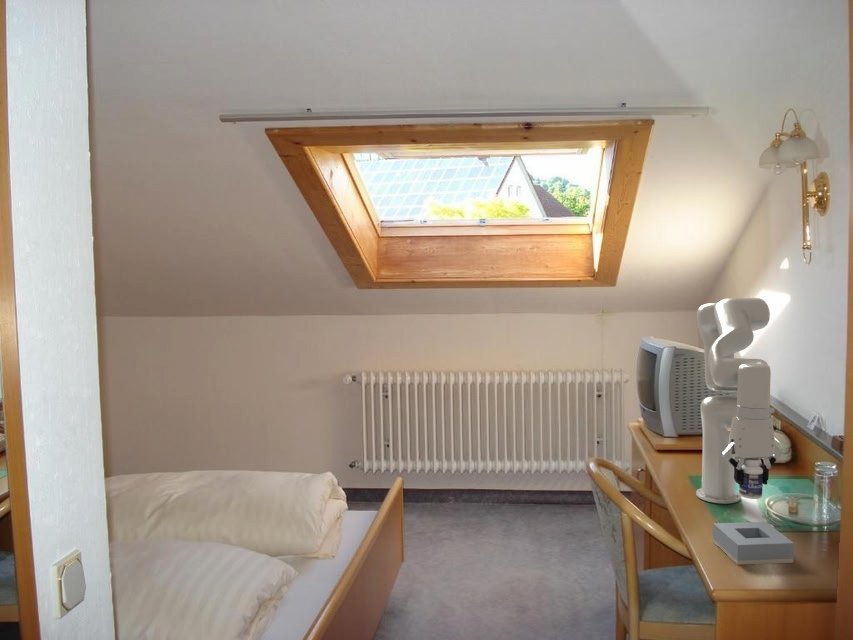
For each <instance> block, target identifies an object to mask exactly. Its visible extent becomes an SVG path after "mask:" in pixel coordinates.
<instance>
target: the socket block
mask: <svg viewBox="0 0 853 640" xmlns="http://www.w3.org/2000/svg"><path fill="white" fill-rule="evenodd" d="M712 543H714V545H715V546H716V547H718V546H719V547H720V548H721V549H722V550H723V551H724V552H725V553H726V554H727V555H726V554H725V553H724V552H723V551H722V550H721V549H720V548H719V547H718V548H719V549H720V550H721V551H722V552H723V553H724V554H725V555H726V556H727V557H729V559H731V560H732V561H733V562H734V563H735V564H736V565H737V566H738V565H739V566H740V565H741V566H742V565H767V564H771V565H772V564H790V563H791V564H793V563H794V556H795V555H794V554H795V553H794V550H795V549H794V548H795V542H793V541H792V540H790V539H789V538H788V537H787V536H785V535H784V534H783V533H781V532H780V531H778V530H777V529H776V528H775V527H773V526H772V525H770V524H769V523H768V522H767V521H751V522H749V521H748V522H722V523H721V522H720V523H719V522H717V523H716V522H715V523H713V526H712Z"/></svg>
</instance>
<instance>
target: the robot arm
mask: <svg viewBox="0 0 853 640" xmlns="http://www.w3.org/2000/svg"><path fill="white" fill-rule="evenodd" d="M770 317H771V313H770V308H769V306H768V304H767V302H766V301H765V300H764V299H762V298H759V297H729V298H724V299H722V300H720V301H718V302H711V303H710V302H708V303H705V304H702V305H700V306H699V307H698V309H697V311H696V324H697V329H698V332H699V335H700V338H701V340H702V343H703V348H704V350H703V351H704V354H703V355H704V381H705V385H706V387H707V389H708V390H710V391H713V392H729V393H730V392H731V393H733V392H736V395H735V396H734V395H733V396H732V395H711V396H707V397H705V398H704V399H702V401H701V402H700V409H699V410H700V418H701V426H702V457H701V459H702V462H701V463H702V464H701V487H700V488H698V489H696V490H695V491H696V492H695V493H696V494H695V495H696V497H697V498H699V499H700V500H701V501H705V502H709V503H714V504H723V505H724V504H725V505H726V504H734V503H737V502H740V500H741V496H740V494H739V492H737V491H736V490H735V489H736V483H737V484H738V486H739V485H743V479H744V470H742V465H744V464H743V463H744V460H745V458H759V459H760V465H759V466H760V467H761V468H762V469H763V485H768V481H769V473H770V472H769V471H770V469H771V468H772V466H773V465H774V464H775V463H776V462H777V460H779V459H780V458H781V457H782V456H783V453H782V452H781V450H780V449H779V448H778V446H777V445H775V444H776V442H775V432H774V431H775V430H774V429H775V428H774V424H773V420H772V418H771V414H775V408H774V407H771V405H770V403H771V375H772V374H771V373H772V372H771V367H770V365H769V364H768V362H766V360H764V359H760V358H736V357H735V354H736V353H738V352H741V351H744V350H746V349H747V348H748V347H750V346H751V344H752V343H753V341H754V339H755V337H754V332H755V331H758V330H762V329H763V328H764V329H765V327H767V326H768V324H769V323H770V322H769V321H770ZM728 429H730V430H729V431H728Z"/></svg>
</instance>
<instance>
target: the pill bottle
mask: <svg viewBox="0 0 853 640" xmlns="http://www.w3.org/2000/svg"><path fill="white" fill-rule="evenodd" d="M760 466H761V462H760V459H759V458H745V460H744V463H743V465H742V470H744V479H743V485H739V484H738V486H739V488H738V491H739V492H738V494H739V495H740V497H742V498H746V499H749V500H759V499H761V498H763V485H764V484H763V469H762V468H761V467H760Z"/></svg>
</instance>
